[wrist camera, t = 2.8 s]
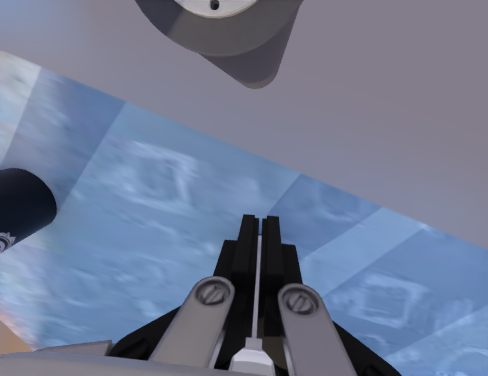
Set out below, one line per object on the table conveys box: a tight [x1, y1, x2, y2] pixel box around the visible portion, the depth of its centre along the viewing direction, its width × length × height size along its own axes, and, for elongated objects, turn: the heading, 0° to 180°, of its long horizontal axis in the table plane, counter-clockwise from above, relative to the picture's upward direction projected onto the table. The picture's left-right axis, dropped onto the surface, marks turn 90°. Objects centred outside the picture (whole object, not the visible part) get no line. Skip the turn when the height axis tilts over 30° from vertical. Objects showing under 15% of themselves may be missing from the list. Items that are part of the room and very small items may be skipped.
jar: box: [231, 235, 273, 376], centre depth 23 cm, size 11×10×15 cm
